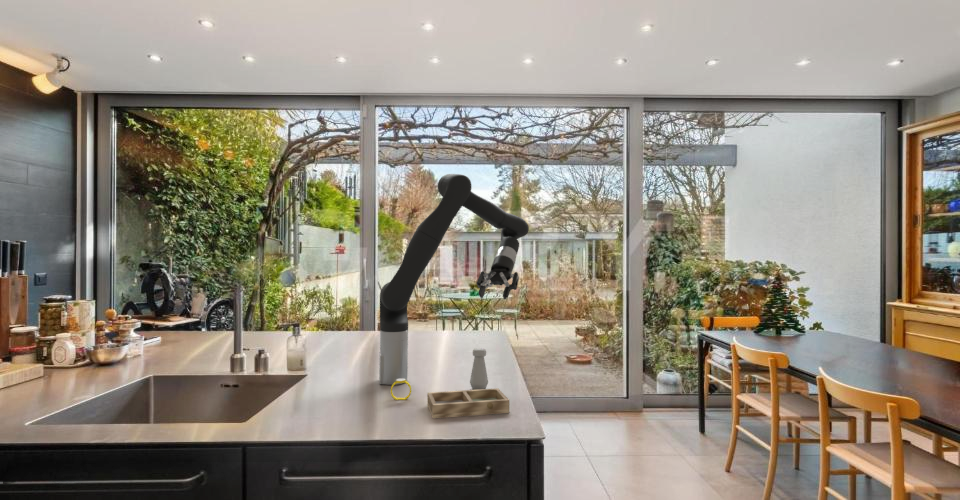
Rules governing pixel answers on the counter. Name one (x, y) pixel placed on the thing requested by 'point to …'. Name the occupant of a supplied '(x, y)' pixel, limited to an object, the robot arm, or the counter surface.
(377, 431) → the counter surface
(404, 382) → the watch
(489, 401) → the tray
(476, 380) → the salt shaker
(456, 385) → the counter surface
